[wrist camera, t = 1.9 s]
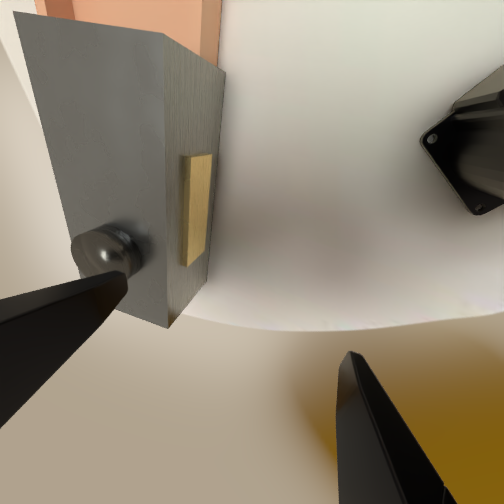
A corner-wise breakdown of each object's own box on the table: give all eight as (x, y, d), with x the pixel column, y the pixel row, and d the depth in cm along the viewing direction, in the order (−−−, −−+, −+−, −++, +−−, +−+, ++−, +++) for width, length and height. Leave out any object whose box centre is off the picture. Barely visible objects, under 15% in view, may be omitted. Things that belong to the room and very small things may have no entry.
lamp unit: (124, 55, 17) (-33, -8, 9) (231, 73, 15) (145, 16, 8) (141, 259, 26) (67, 310, 18) (209, 282, 24) (160, 346, 17)
